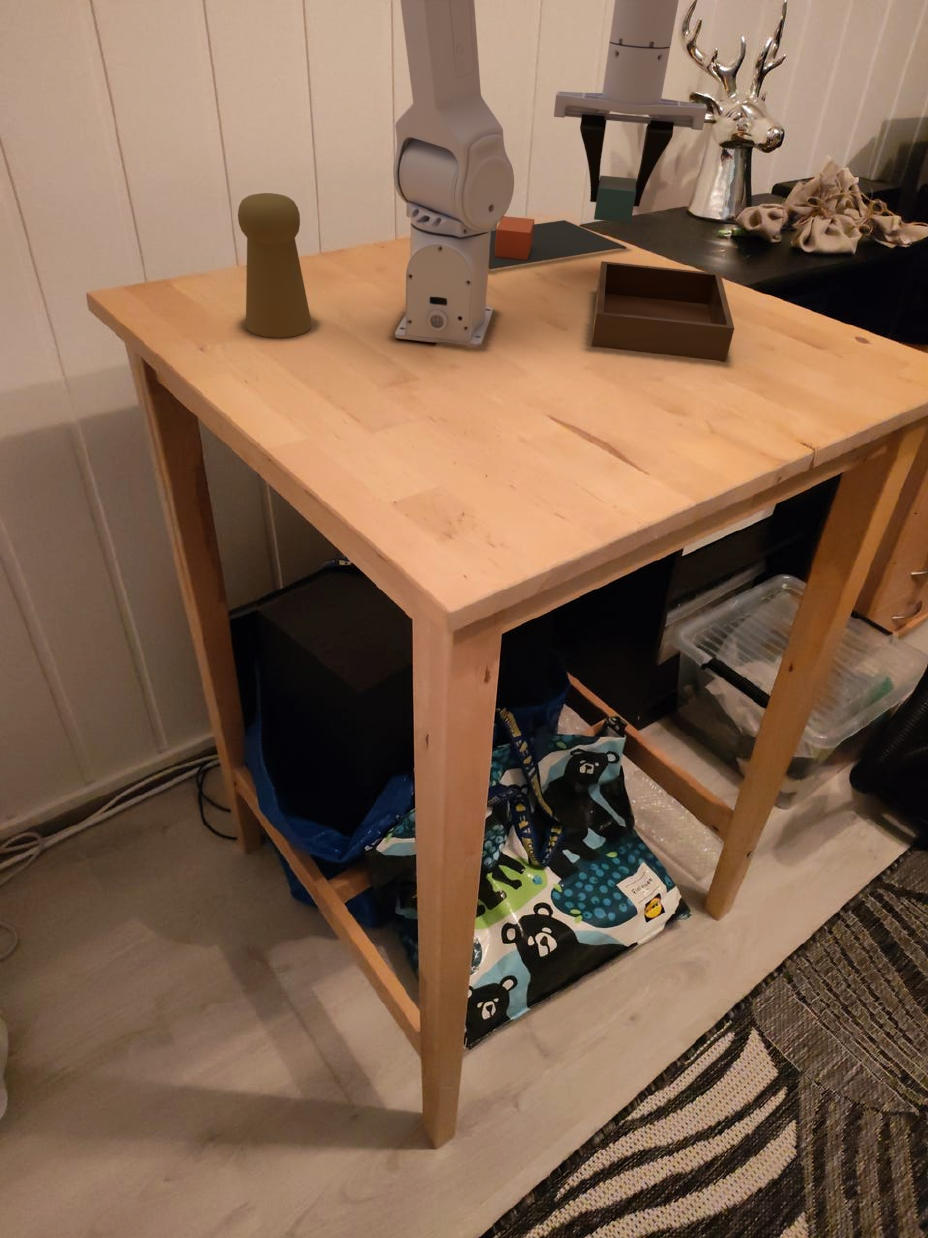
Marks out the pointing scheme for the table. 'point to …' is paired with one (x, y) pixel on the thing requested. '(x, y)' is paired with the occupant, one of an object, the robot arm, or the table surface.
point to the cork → (273, 267)
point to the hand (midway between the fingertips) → (615, 201)
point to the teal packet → (615, 199)
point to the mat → (555, 244)
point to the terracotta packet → (514, 238)
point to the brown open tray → (662, 311)
